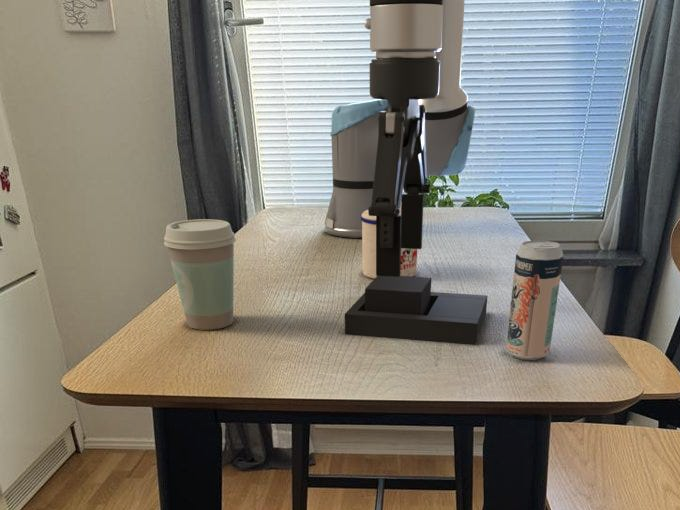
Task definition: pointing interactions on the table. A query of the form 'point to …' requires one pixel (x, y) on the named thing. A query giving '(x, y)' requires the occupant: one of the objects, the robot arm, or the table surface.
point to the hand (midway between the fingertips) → (400, 261)
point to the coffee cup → (203, 270)
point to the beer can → (534, 299)
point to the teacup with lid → (370, 250)
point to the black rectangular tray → (424, 320)
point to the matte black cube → (399, 295)
